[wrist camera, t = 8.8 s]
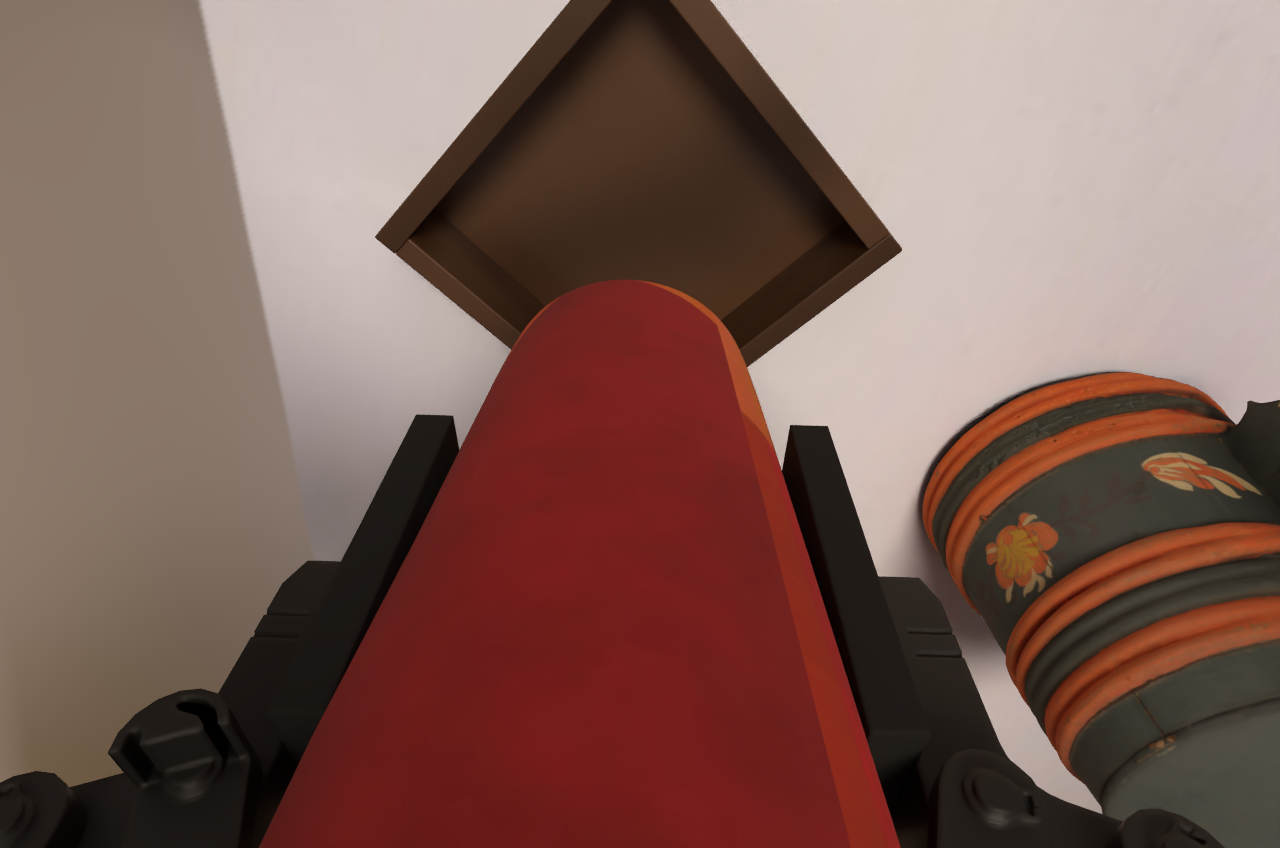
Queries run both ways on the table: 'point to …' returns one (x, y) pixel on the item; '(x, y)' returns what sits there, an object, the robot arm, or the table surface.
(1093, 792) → the beer stein
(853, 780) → the coffee cup
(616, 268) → the square wooden tray
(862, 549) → the robot arm
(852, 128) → the table surface
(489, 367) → the table surface
